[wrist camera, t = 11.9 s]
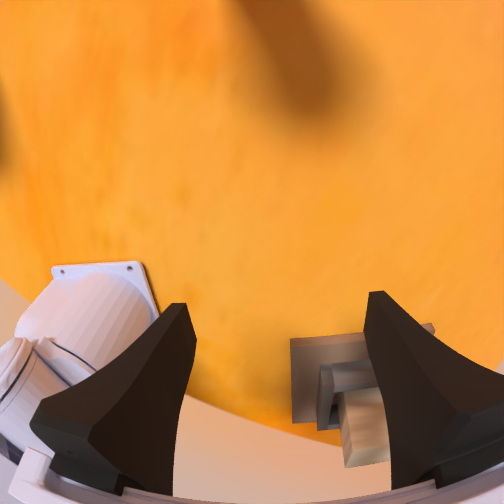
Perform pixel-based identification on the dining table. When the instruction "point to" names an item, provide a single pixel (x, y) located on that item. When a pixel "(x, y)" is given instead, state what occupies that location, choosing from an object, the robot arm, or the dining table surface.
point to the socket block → (328, 375)
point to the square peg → (363, 427)
